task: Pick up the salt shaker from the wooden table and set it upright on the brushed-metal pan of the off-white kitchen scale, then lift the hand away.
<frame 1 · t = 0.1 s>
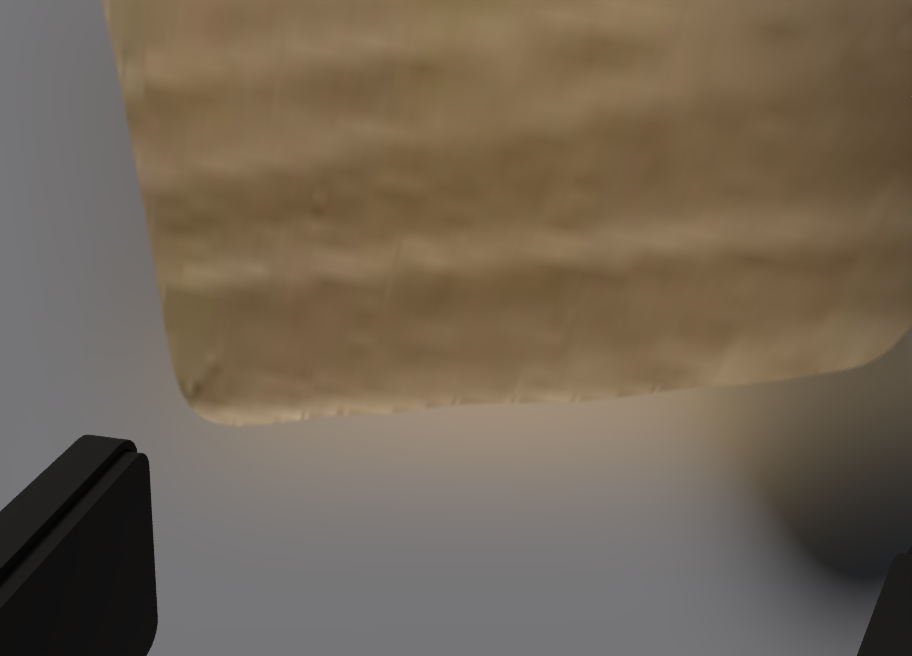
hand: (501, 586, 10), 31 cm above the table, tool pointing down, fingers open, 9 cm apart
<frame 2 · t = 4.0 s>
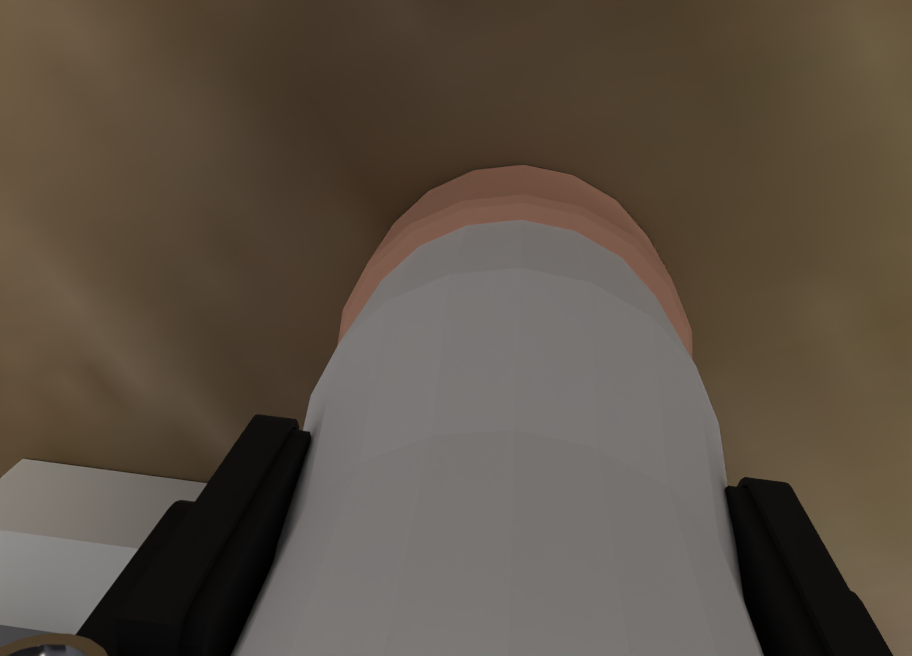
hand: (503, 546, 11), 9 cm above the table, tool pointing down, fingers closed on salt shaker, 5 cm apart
salt shaker: (514, 312, 19), on the table, touching gripper
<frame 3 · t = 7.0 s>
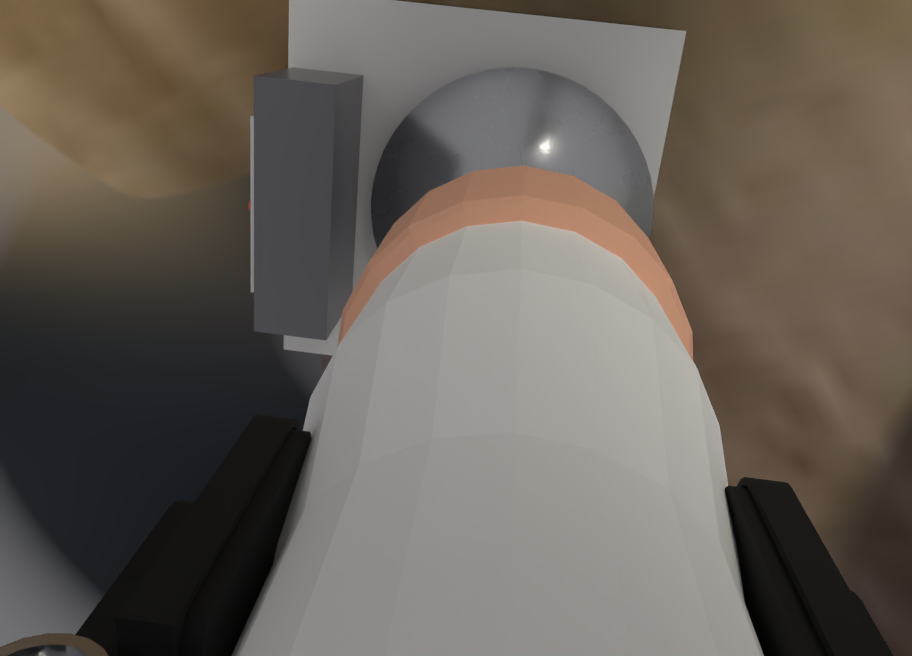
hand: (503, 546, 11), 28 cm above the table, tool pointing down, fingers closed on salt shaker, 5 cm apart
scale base: (470, 191, 37), on the table
scale pan: (510, 213, 34), point 4 cm above the table, slide at -0.4 cm
salt shaker: (514, 313, 19), point 19 cm above the table, touching gripper
when the fingers open (15 cm above the table, at t = 10.0 s): salt shaker drops 2 cm, resting on scale pan.
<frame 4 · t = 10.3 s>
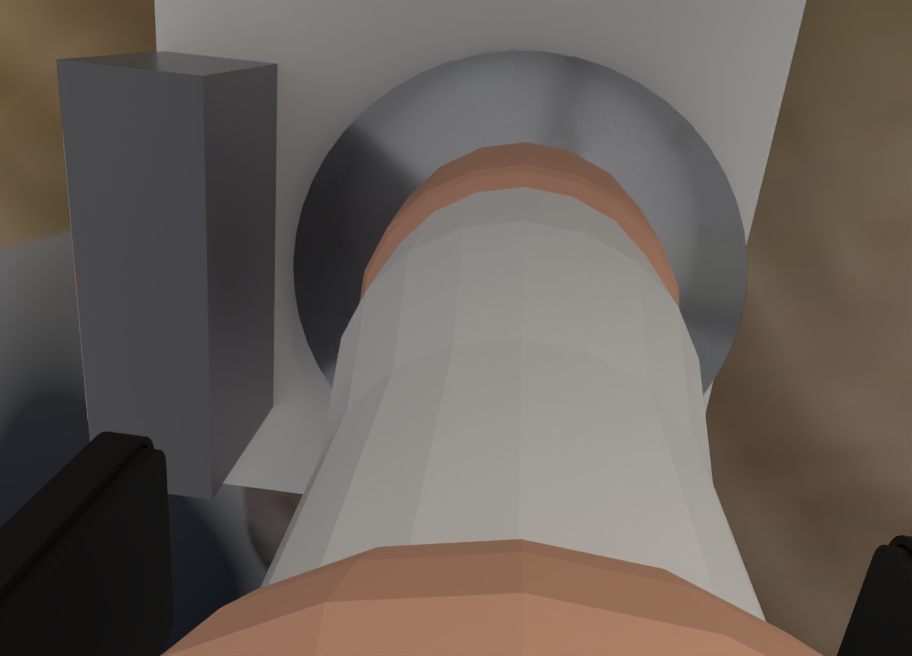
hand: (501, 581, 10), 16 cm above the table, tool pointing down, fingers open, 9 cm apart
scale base: (453, 241, 25), on the table
scale pan: (514, 284, 21), point 3 cm above the table, slide at -0.4 cm, touching salt shaker, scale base
salt shaker: (518, 279, 21), point 4 cm above the table, touching scale pan
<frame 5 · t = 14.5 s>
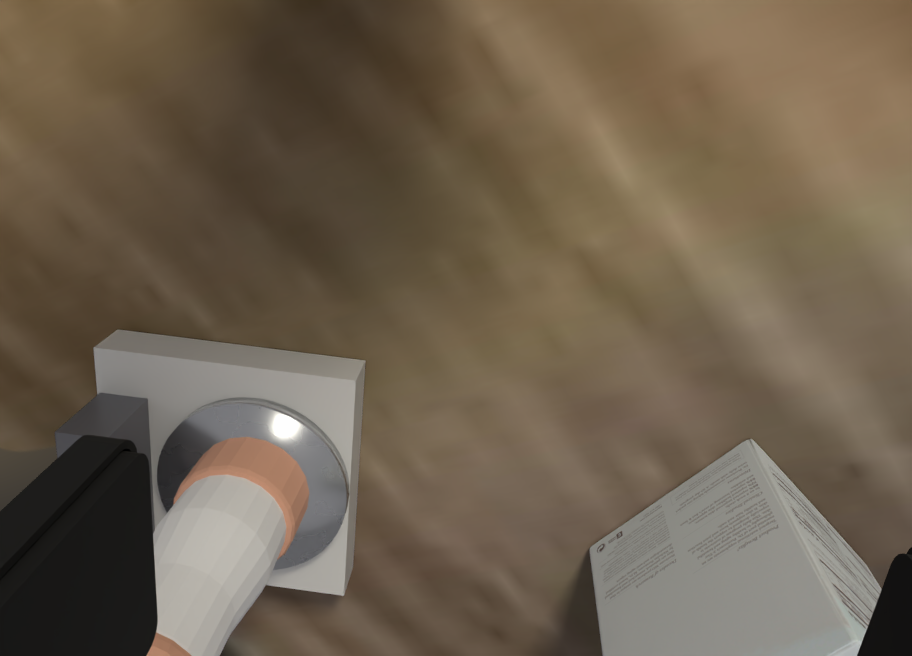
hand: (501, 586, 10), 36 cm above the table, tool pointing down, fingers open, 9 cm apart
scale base: (241, 454, 52), on the table
scale pan: (253, 486, 49), point 3 cm above the table, slide at -0.4 cm, touching salt shaker, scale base
supplement box: (725, 553, 52), on the table
salt shaker: (253, 486, 49), point 4 cm above the table, touching scale pan
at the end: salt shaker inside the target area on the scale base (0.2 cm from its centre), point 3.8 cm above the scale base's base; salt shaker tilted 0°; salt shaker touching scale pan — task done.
